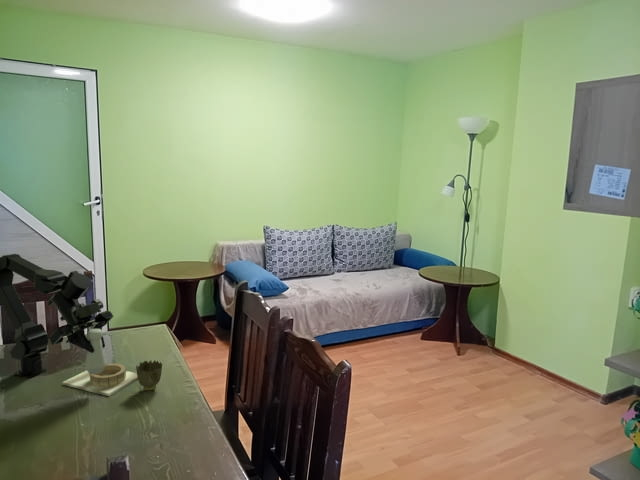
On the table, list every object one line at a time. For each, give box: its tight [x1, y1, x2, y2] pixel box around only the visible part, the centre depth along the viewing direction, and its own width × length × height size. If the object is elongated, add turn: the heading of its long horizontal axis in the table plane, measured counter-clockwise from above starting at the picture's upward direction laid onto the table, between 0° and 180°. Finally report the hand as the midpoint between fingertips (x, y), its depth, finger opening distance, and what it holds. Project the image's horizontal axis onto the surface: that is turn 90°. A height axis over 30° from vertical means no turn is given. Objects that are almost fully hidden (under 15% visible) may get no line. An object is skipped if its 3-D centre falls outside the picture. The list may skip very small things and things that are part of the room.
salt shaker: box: [84, 329, 107, 374], centre depth 137 cm, size 6×6×13 cm
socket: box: [62, 363, 138, 397], centre depth 145 cm, size 18×14×4 cm
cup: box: [135, 360, 163, 393], centre depth 141 cm, size 8×7×8 cm
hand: (98, 349), depth 137 cm, fingers closed on salt shaker, 3 cm apart
